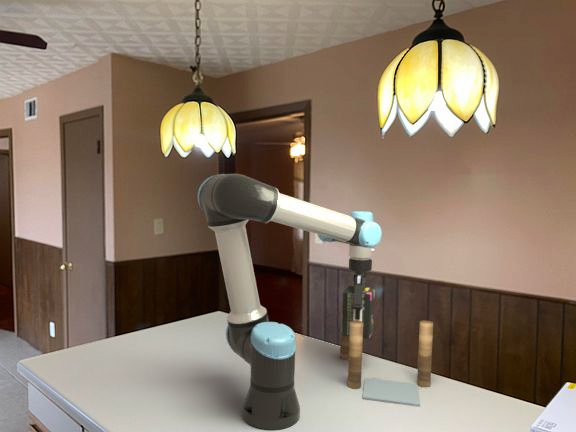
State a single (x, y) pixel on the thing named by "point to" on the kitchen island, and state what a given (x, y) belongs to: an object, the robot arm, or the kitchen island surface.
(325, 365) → the kitchen island surface
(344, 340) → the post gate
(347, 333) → the tampon box
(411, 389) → the pad
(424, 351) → the post
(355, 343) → the post corner
